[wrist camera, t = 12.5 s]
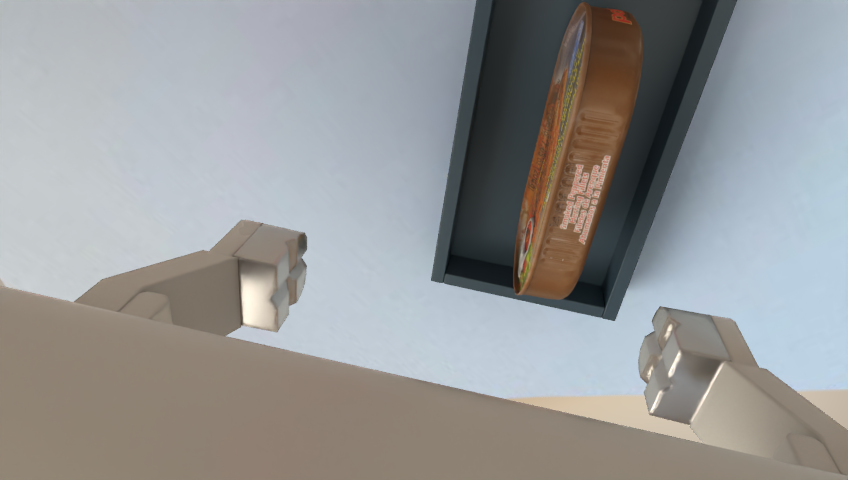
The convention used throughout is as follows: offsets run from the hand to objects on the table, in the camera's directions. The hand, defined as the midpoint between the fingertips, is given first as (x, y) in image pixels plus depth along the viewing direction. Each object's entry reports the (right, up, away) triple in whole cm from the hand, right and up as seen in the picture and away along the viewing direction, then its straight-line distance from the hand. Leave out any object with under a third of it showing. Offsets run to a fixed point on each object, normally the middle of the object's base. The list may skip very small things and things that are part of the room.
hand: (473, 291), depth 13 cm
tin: (+7, +7, +19) cm, 22 cm away
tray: (+7, +7, +19) cm, 22 cm away
